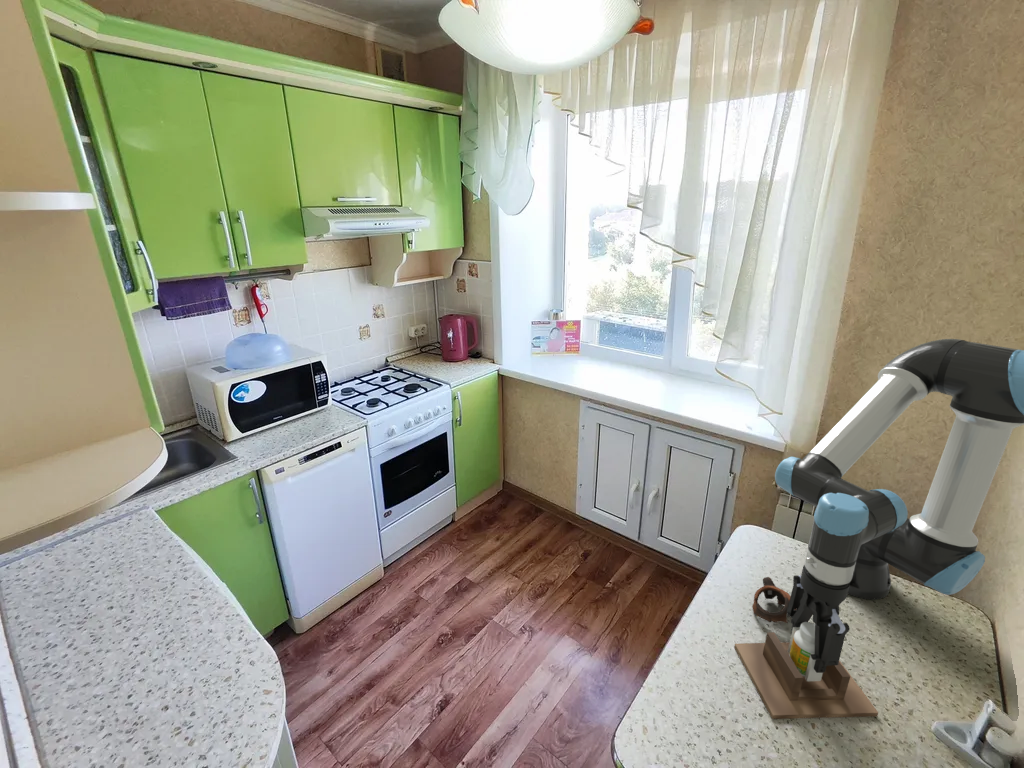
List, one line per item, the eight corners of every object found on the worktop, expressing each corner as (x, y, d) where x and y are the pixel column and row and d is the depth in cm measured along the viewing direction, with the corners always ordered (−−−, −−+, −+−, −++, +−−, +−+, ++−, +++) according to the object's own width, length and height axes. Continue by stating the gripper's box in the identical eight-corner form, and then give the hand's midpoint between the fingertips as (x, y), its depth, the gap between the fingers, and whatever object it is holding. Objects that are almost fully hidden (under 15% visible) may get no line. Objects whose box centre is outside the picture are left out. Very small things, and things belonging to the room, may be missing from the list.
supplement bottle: (792, 675, 95) (801, 638, 92) (784, 652, 100) (792, 616, 97) (822, 681, 94) (833, 643, 91) (813, 657, 99) (822, 621, 96)
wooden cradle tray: (824, 644, 106) (830, 620, 103) (877, 716, 91) (886, 689, 88) (734, 647, 106) (738, 622, 103) (772, 719, 91) (778, 692, 88)
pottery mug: (808, 631, 110) (801, 613, 106) (765, 640, 113) (757, 623, 109) (784, 583, 120) (778, 565, 116) (746, 593, 123) (738, 575, 119)
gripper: (779, 541, 98) (762, 628, 106) (838, 611, 81) (812, 710, 88) (816, 540, 98) (796, 628, 106) (883, 610, 81) (852, 709, 88)
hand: (803, 665), depth 97 cm, fingers closed on supplement bottle, 5 cm apart
